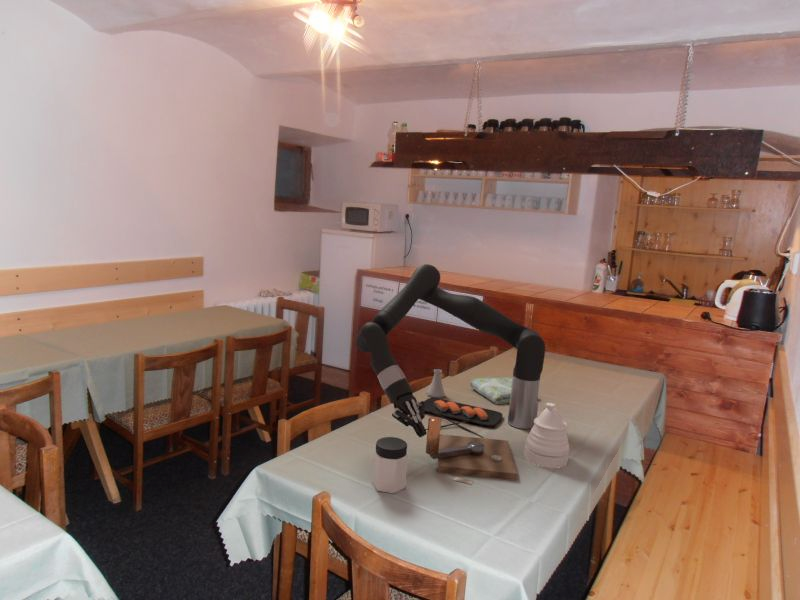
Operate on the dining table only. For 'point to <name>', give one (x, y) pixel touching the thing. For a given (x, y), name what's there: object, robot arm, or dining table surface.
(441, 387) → the flask
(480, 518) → the dining table surface
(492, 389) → the towel
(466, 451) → the lever
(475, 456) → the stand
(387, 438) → the jar
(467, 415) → the sushi plate
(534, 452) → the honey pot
